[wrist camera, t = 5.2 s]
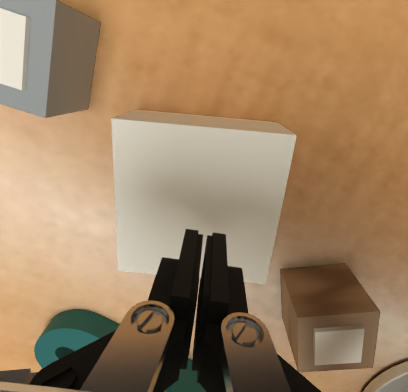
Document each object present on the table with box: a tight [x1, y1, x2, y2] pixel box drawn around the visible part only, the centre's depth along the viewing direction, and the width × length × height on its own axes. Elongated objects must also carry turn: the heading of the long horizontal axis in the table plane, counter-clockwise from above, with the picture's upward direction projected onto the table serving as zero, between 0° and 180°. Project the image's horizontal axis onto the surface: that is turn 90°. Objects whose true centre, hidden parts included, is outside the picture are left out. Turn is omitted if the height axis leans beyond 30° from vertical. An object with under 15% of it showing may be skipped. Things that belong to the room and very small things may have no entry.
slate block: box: [0, 0, 101, 118], centre depth 15 cm, size 5×5×5 cm
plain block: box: [111, 109, 297, 284], centre depth 18 cm, size 9×9×5 cm
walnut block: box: [280, 263, 380, 372], centre depth 21 cm, size 5×5×5 cm
